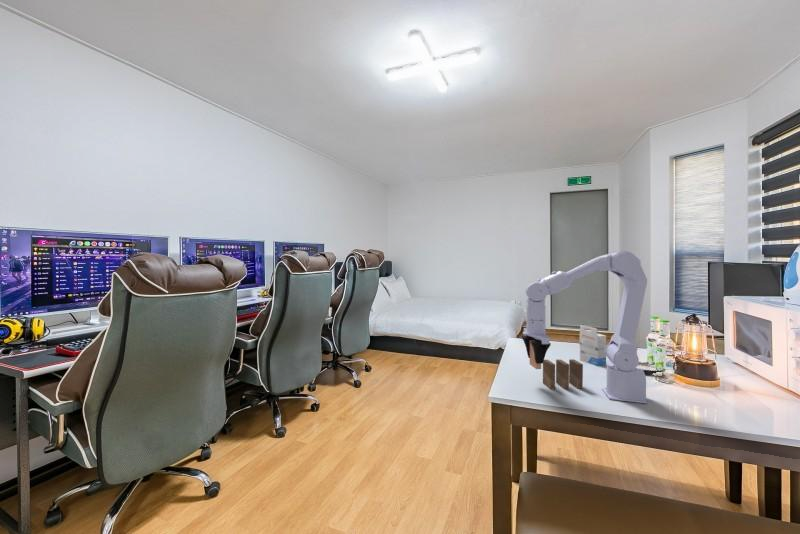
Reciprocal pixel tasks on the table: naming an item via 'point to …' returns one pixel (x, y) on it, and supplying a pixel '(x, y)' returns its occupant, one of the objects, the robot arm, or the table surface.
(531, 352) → the terracotta domino
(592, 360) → the ink box
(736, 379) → the table surface
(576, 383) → the walnut domino
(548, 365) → the walnut domino
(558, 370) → the walnut domino
